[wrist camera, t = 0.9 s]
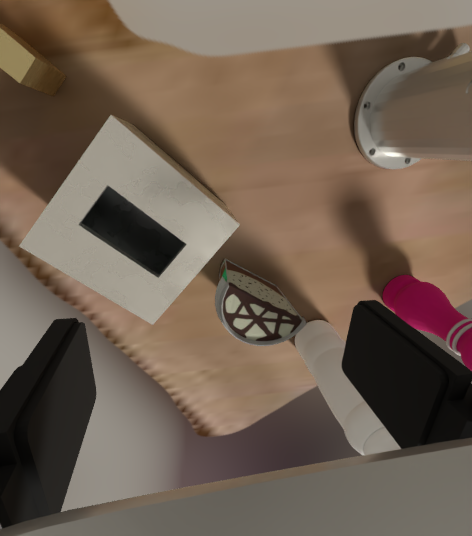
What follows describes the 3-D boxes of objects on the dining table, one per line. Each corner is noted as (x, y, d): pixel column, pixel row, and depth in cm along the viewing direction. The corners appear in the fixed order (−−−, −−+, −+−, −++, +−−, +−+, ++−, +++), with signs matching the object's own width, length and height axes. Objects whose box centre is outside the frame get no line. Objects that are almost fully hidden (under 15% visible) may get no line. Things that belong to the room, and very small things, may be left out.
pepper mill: (423, 296, 50) (561, 382, 32) (386, 317, 50) (501, 414, 32) (413, 263, 47) (559, 338, 29) (373, 286, 47) (492, 374, 29)
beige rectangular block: (18, 34, 29) (-30, 3, 22) (66, 76, 30) (35, 57, 24) (5, 56, 29) (-45, 31, 23) (53, 96, 31) (19, 83, 24)
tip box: (132, 124, 33) (110, 114, 23) (225, 204, 38) (240, 224, 28) (65, 218, 36) (19, 246, 26) (160, 281, 41) (152, 324, 31)
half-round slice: (193, 288, 42) (196, 327, 33) (215, 253, 41) (224, 284, 32) (262, 320, 46) (281, 362, 37) (284, 289, 45) (309, 325, 36)
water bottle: (322, 355, 51) (433, 522, 28) (286, 349, 49) (375, 523, 27) (339, 322, 49) (475, 474, 26) (302, 314, 47) (414, 471, 24)
